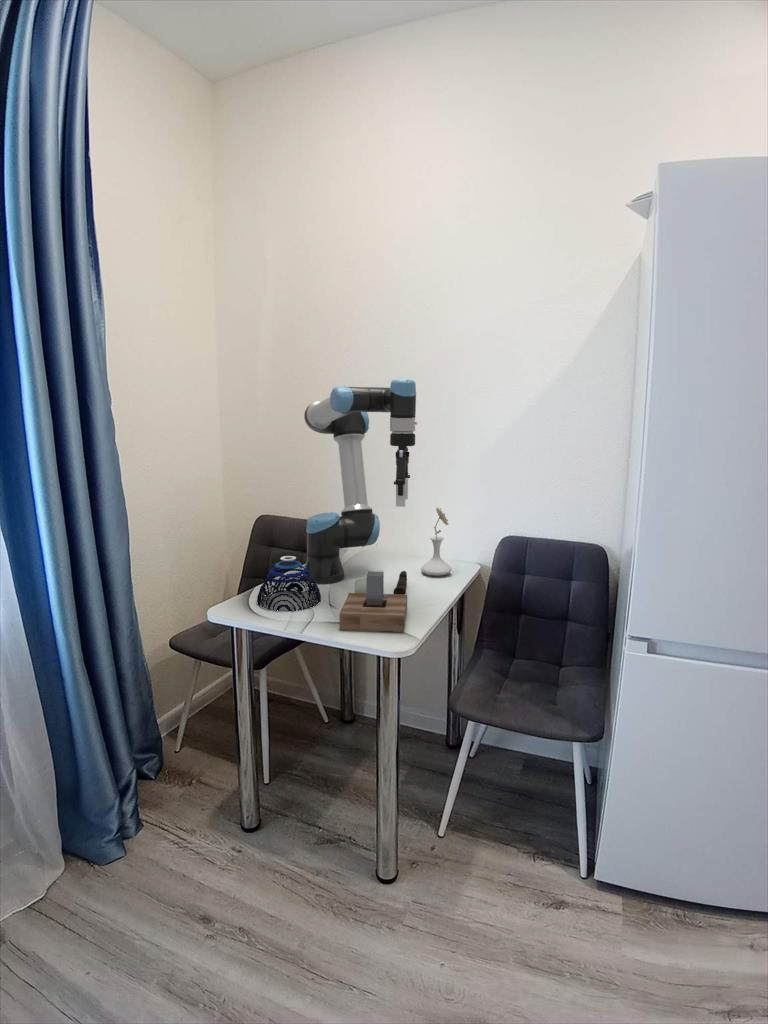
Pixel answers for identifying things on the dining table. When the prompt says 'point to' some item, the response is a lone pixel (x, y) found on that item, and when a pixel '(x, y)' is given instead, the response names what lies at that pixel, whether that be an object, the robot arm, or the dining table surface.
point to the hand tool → (401, 583)
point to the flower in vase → (437, 553)
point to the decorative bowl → (289, 586)
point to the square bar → (374, 589)
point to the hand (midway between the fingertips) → (402, 502)
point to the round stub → (360, 585)
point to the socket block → (374, 613)
